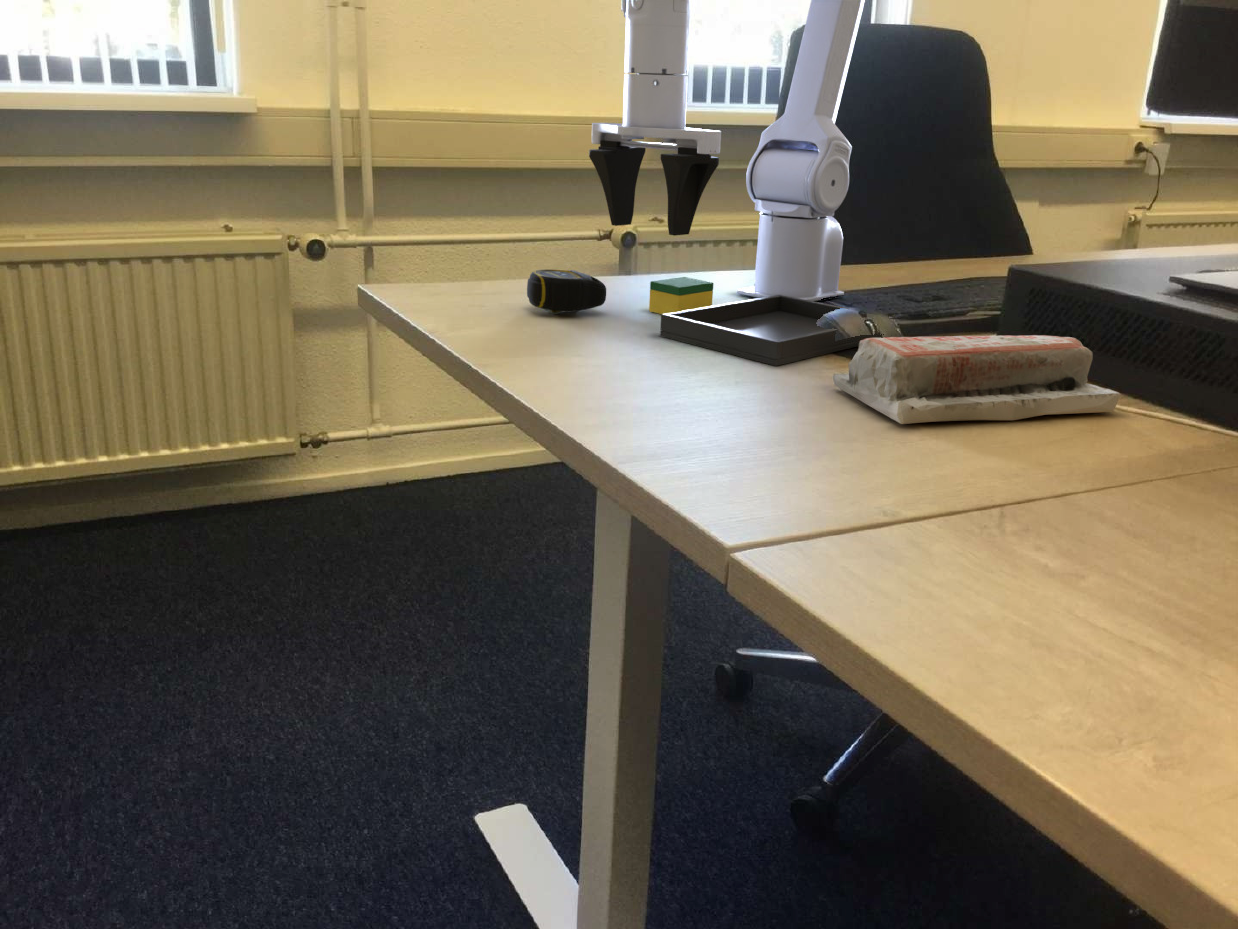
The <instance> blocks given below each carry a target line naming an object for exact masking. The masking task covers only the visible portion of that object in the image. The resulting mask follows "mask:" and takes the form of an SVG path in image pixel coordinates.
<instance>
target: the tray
mask: <svg viewBox="0 0 1238 929" xmlns="http://www.w3.org/2000/svg"><path fill="white" fill-rule="evenodd" d="M840 308H845V307H844V306H839V305H834V304H828V303H823V302H818V301H809V300H804V299H799V298H794V297H789V296H784V295H775V296H769V297H763V298H757V297H755V298H750V299H745V300H739V301H733V302H726V303H721V304H716V305H712V306H708V307H702V308H696V309H690V310H684V311H678V312H672V313H666V314H660V331H659V337H663V338H666V339H671V340H674V341H678V342H682V343H686V344H689V345H693V346H697V347H701V348H705V349H709V350H713V351H717V352H720V353H724V354H728V355H733V356H736V357H739V358H744V359H747V360H751V361H755V362H758V363H762V364H767V365H771V366H774V367H778V366H781V365H782V366H783V365H786V364H789V363H794V362H799V361H802V360H807V359H811V358H815V357H821V356H824V355H828V354H832V353H836V352H840V351H845V350H848V349H853V348H857V347H859V343H860V340H864V339H866V338H881V337H882V334H881V335H879V334H874V335H873V334H872V335H860V336H855V337H851V338H847V339H842V340H838V341H835V334H836V331H837V329H834V328H832V329H824V328H822V327H820V326H817V324H816V322H817V320H818V319H820V318H821V317H822V316H823V314H825V313H828V312H830V311H834V310H835V309H840ZM889 318H890V319H893V320H894V317H893V316H889ZM883 335H884V334H883Z"/></svg>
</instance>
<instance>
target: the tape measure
mask: <svg viewBox="0 0 1238 929" xmlns="http://www.w3.org/2000/svg"><path fill="white" fill-rule="evenodd" d="M526 296H527V298H528V302H529V303H530V304H531V305H532V306H534V307H536V308H539V309H542V310H544V311H545V312H546V313H547V312H548V313H550V314H552V315H557V314H560V313H563V312H578V311H584V310H589V309H590V310H591V309H595V308H597V307H601V306H603V305H604V303H605V302H606V301H607V300H606V299H607V286H606V285H605V283H604V282H602V281H601V280H600V279H599V278H596V277H594V276H591V275H589V274H587V273H584V272H580V271H577V270H574V269H569V270H566V269H565V270H564V269H555V268H553V269H539V270H538V269H537V270H533V271H532V272H531V273H530V275H529V278H528V279H527V285H526Z"/></svg>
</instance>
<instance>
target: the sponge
mask: <svg viewBox="0 0 1238 929" xmlns="http://www.w3.org/2000/svg"><path fill="white" fill-rule="evenodd" d="M713 297H714V282H712V281H707V280H702V279H698V278H692V277H688V276H687V277H686V276H682V277H674V278H673V277H672V278H666V279H659V280H651V281H650V282H649V300H648V302H649V303H648V311H649V312H650V313H655V314H659V315H661V314H666V313H672V312H678V311H684V310H690V309H696V308H702V307H708V306H713Z"/></svg>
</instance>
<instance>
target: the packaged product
mask: <svg viewBox="0 0 1238 929" xmlns="http://www.w3.org/2000/svg"><path fill="white" fill-rule="evenodd" d="M1092 362H1093V351H1092V350H1090V349H1089V348H1088V347H1086V346H1084V345H1083V344H1082V342H1081V340H1079V339H1077V338H1076V337H1070V336H1058V335H1046V334H1045V335H1044V334H1043V335H1037V334H1032V335H1021V334H1020V335H1006V334H1005V335H954V336H952V335H951V336H950V335H944V336H891V337H883V338H866V339H864V340H860V343H859V346H858V349H857V351H856V352H855V354H854V356H853V357H852V359H851V361H850V362H849V363H848V372H846V373H833V374H832V377H831V378H832V381H833V384H834V387H836V388H838V389H840V390H842V391H843V392H845V393H847V394H849V395H850V396H852V397H854V398H855V399H857V400H859V401H860V402H862V403H864V404H865V405H867V406H869V407H870V408H872V409H874V410H876V411H877V412H879V413H881V414H883V415H884V416H886V417H888V418H890V419H891V420H893V421H895V422H897V424H900V425H907V424H917V423H918V424H919V423H932V422H933V423H934V422H935V423H936V422H960V421H1017V420H1022V419H1028V418H1033V417H1039V416H1044V415H1066V414H1067V415H1069V414H1090V413H1091V414H1092V413H1113V412H1115V410H1116V407H1117V405H1118V402H1119V400H1120V397H1121V395H1122V394H1121V393H1120V392H1118V391H1115V390H1112V389H1110V388H1105V387H1101V386H1099V385H1095V384H1091V383H1087V382H1088V380H1089V379H1088V376H1089V373H1090V370H1091V365H1092Z"/></svg>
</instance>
